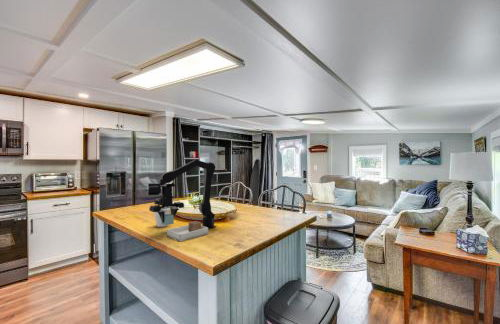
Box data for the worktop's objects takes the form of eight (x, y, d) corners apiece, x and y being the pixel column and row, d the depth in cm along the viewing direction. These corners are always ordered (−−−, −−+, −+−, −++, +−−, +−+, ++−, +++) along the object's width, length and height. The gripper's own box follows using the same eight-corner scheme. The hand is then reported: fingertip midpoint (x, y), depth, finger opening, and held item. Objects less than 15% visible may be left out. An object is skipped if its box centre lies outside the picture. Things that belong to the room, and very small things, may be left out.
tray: (195, 229, 150) (195, 223, 150) (208, 233, 141) (208, 227, 141) (166, 236, 137) (166, 229, 137) (179, 241, 128) (179, 234, 128)
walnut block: (188, 231, 142) (188, 222, 142) (195, 229, 146) (195, 220, 146) (193, 233, 139) (193, 224, 138) (201, 231, 142) (201, 222, 142)
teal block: (169, 222, 148) (169, 213, 147) (173, 223, 144) (173, 214, 144) (161, 223, 144) (161, 215, 144) (165, 225, 140) (165, 216, 140)
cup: (164, 228, 152) (164, 210, 151) (149, 227, 154) (149, 209, 153) (173, 224, 161) (172, 207, 161) (158, 223, 163) (158, 206, 163)
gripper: (174, 191, 156) (174, 216, 156) (144, 194, 142) (145, 222, 143) (184, 193, 148) (184, 219, 149) (154, 197, 135) (154, 226, 135)
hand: (167, 221), depth 144 cm, fingers closed on teal block, 5 cm apart
